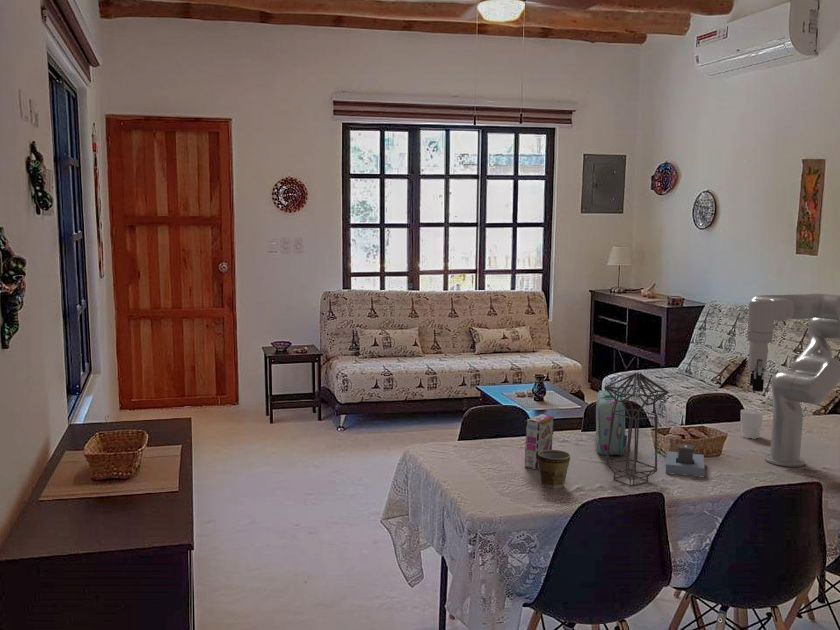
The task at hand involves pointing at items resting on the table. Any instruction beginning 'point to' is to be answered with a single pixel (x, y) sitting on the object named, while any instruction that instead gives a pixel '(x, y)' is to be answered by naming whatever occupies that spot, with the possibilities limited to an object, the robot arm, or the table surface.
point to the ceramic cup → (553, 467)
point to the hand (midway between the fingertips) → (756, 388)
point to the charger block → (685, 454)
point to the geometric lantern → (643, 379)
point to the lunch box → (603, 425)
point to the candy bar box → (538, 438)
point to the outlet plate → (685, 465)
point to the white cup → (751, 423)
